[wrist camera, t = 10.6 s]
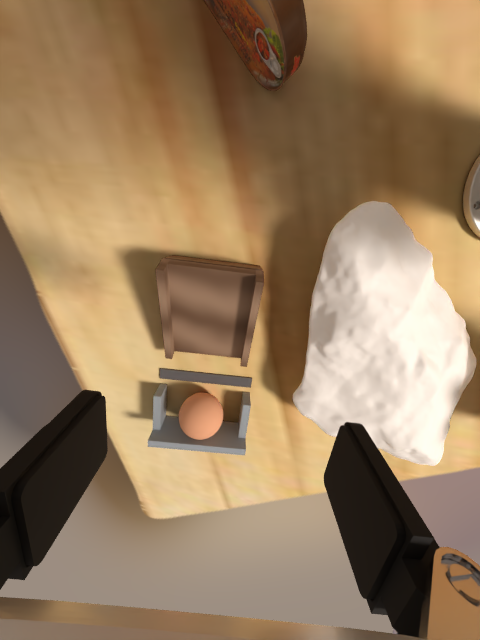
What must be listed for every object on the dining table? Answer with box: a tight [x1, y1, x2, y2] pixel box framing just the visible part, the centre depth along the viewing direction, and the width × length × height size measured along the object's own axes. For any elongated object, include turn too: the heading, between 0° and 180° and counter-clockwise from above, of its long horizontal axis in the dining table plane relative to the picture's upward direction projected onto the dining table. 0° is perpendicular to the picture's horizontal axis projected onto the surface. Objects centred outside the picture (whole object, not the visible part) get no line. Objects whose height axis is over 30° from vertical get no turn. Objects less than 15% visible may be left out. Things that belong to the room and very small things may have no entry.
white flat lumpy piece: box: [293, 201, 476, 466], centre depth 30 cm, size 24×35×9 cm
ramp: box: [156, 255, 264, 367], centre depth 30 cm, size 13×11×7 cm
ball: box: [179, 393, 223, 440], centre depth 34 cm, size 6×6×6 cm
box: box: [148, 368, 252, 455], centre depth 35 cm, size 9×13×5 cm
